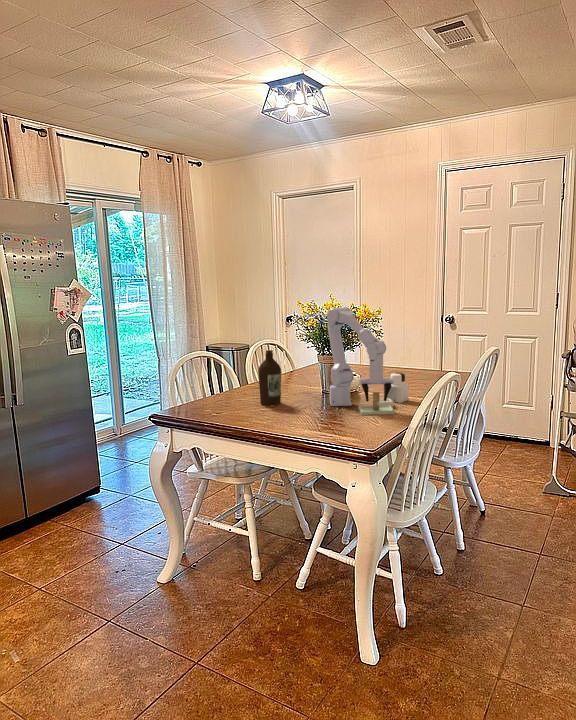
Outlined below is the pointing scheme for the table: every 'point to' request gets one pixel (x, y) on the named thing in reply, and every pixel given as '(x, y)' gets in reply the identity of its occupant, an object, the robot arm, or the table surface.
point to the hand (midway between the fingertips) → (376, 400)
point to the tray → (382, 410)
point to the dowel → (375, 401)
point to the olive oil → (270, 380)
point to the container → (398, 388)
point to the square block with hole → (386, 402)
